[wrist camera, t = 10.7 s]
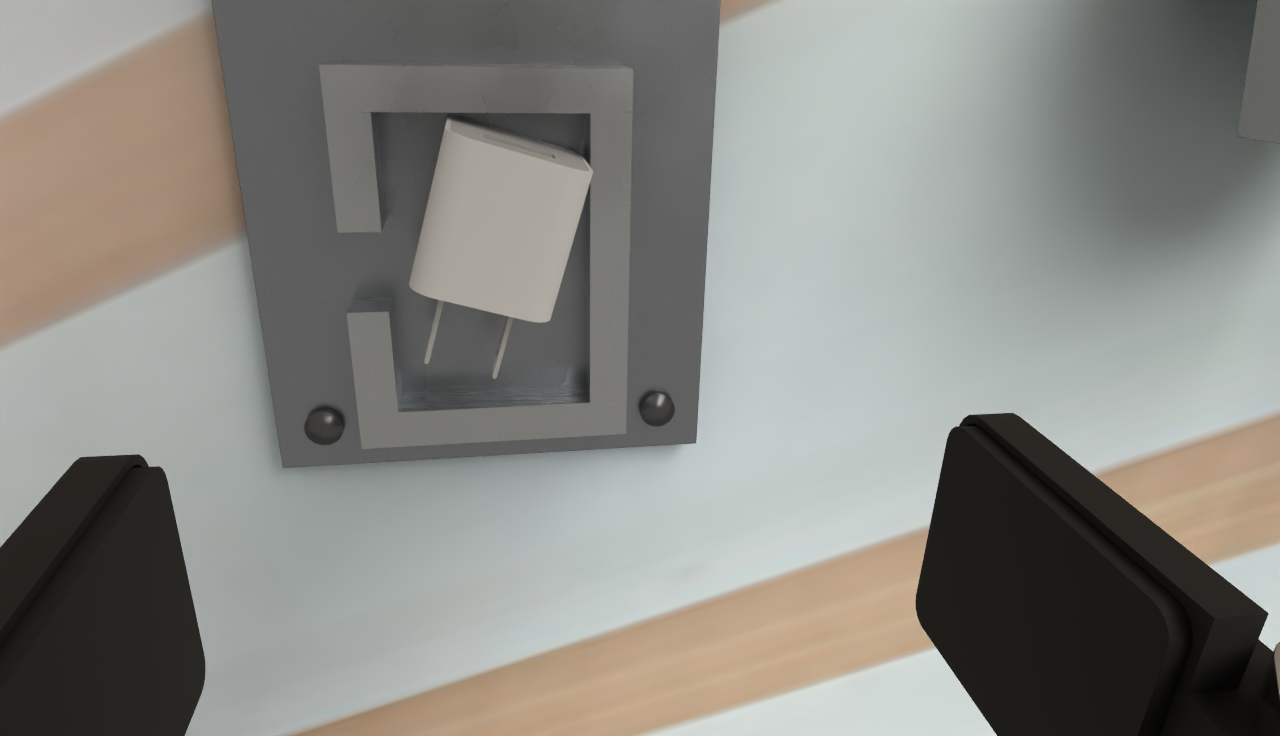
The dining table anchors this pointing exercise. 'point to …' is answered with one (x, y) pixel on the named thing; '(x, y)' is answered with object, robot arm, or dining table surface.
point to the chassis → (397, 200)
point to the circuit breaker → (1263, 77)
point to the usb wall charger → (498, 224)
